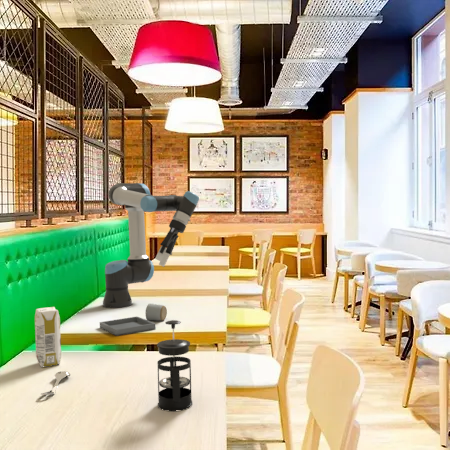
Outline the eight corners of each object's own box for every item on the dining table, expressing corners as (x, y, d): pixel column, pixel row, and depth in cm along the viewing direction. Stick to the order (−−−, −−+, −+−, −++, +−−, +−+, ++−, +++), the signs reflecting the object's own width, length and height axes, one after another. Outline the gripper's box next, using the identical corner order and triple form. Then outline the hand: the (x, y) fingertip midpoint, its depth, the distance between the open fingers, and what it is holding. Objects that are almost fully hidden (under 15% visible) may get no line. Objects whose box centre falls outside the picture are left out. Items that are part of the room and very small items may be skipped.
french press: (156, 399, 153) (154, 317, 152) (190, 396, 155) (188, 315, 154) (158, 415, 142) (156, 327, 140) (195, 412, 143) (192, 325, 142)
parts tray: (99, 327, 240) (99, 322, 240) (137, 321, 250) (137, 316, 250) (116, 335, 225) (116, 329, 225) (155, 329, 235) (155, 323, 235)
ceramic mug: (161, 322, 248) (161, 305, 247) (145, 321, 250) (144, 305, 250) (170, 317, 258) (170, 301, 258) (154, 317, 260) (154, 301, 260)
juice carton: (39, 368, 183) (37, 312, 182) (35, 362, 191) (33, 308, 190) (62, 365, 186) (60, 310, 185) (57, 358, 194) (55, 305, 193)
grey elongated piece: (52, 386, 154) (36, 387, 154) (53, 399, 154) (36, 399, 154) (72, 368, 174) (57, 369, 174) (72, 380, 174) (58, 380, 174)
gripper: (184, 218, 246) (164, 260, 241) (188, 232, 270) (169, 270, 265) (169, 211, 246) (148, 254, 241) (174, 226, 271) (155, 264, 266)
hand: (159, 262), depth 253 cm, fingers open, 13 cm apart
